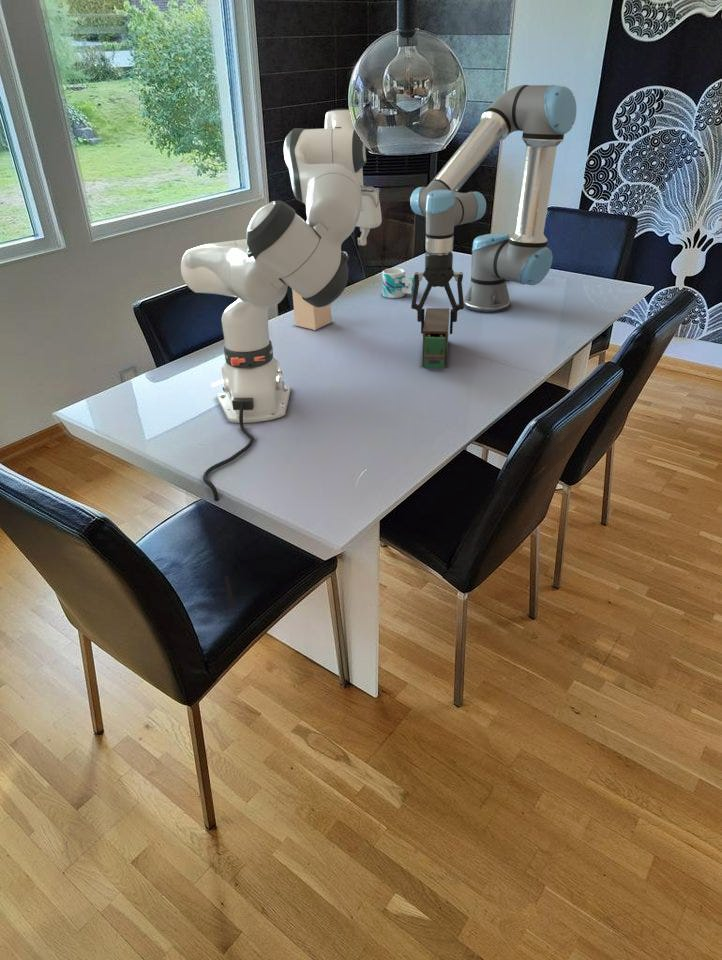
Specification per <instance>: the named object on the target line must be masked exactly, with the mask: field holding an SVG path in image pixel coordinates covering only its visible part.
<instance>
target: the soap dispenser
mask: <svg viewBox="0 0 722 960" xmlns="http://www.w3.org/2000/svg"><path fill="white" fill-rule="evenodd" d="M291 292H292V304H293V311H294V312H293V315H294V325H295V326H297V327H301V328H304V329H310V330H313V331H316V330H318V329H320V328H322V327H324V326H326V325H329V324H331V323H333V322H332V306H331V304H332V303H331V304H329V305H327V306H324V307H319V308H318V307H315V306H313V305H311V304H309V303H308V302H306V301H305V300H303V299H302V296H301V295H299V294H298V293H297V292H295V291H294V290H293V289H292V288H291Z"/></svg>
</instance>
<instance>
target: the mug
mask: <svg viewBox="0 0 722 960" xmlns="http://www.w3.org/2000/svg"><path fill="white" fill-rule="evenodd" d="M381 272H382V296H383V297H385V298H388V299H397V298H398V299H399V298H402V297H404V296H406V294H409V295H413V292H414V286H415V281H414V277H411V276H406V271H405V269H403V268H398V267H392V268H385V269H383V270H382V271H381ZM406 284H408V285H406Z"/></svg>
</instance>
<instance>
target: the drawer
mask: <svg viewBox="0 0 722 960" xmlns="http://www.w3.org/2000/svg"><path fill="white" fill-rule="evenodd" d="M444 362H445V337H444V334H428V337H425V349H424V367H423V368H424V369H445V367H444Z"/></svg>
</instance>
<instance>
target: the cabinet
mask: <svg viewBox="0 0 722 960" xmlns="http://www.w3.org/2000/svg"><path fill="white" fill-rule="evenodd" d="M425 310H426V311H425V314H424V328H423V334H422V367H423V368H424V349H425V337H428V334H444V337H445V362H444V368H448V367H447V366H448V350H449V349H448V348H449V347H448V346H449V331H450V307H449V308H447V307H445V308H444V307H438V308H437V307H426V308H425Z"/></svg>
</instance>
